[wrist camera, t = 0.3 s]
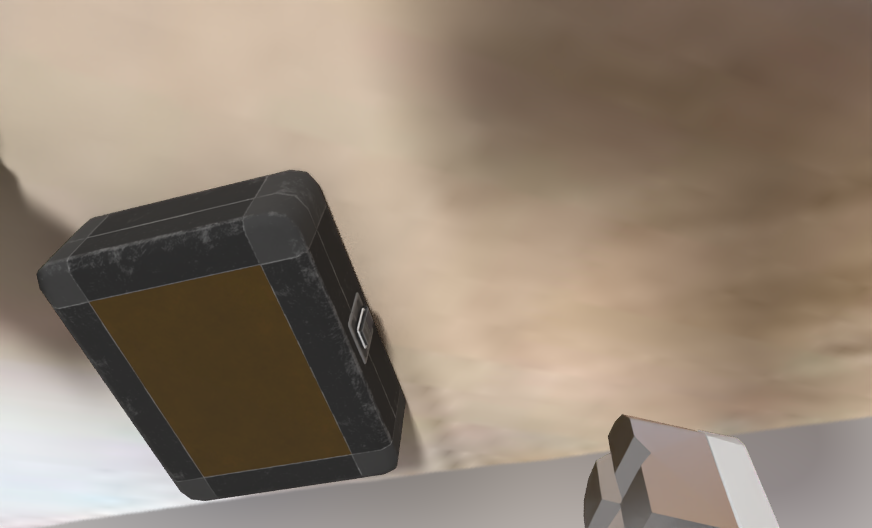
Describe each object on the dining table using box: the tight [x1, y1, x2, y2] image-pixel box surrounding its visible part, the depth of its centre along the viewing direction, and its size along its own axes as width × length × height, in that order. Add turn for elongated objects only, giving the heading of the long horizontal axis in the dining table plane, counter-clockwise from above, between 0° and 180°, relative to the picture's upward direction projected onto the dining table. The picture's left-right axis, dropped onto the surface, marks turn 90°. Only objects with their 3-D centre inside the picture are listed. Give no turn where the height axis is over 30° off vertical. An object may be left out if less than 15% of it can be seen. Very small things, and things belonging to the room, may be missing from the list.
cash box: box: [37, 170, 405, 501], centre depth 55 cm, size 25×20×8 cm
